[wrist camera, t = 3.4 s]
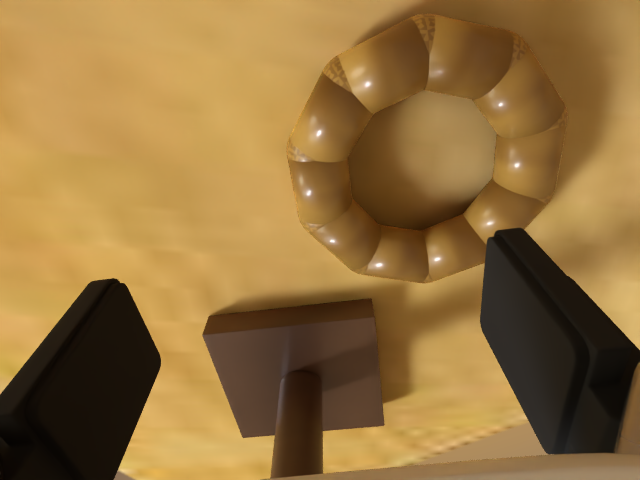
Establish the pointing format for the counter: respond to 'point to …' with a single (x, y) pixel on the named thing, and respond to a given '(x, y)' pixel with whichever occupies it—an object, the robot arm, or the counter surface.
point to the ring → (397, 84)
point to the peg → (299, 376)
